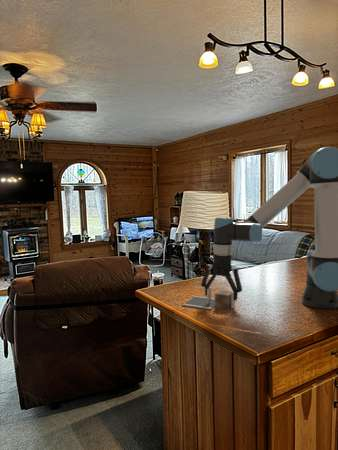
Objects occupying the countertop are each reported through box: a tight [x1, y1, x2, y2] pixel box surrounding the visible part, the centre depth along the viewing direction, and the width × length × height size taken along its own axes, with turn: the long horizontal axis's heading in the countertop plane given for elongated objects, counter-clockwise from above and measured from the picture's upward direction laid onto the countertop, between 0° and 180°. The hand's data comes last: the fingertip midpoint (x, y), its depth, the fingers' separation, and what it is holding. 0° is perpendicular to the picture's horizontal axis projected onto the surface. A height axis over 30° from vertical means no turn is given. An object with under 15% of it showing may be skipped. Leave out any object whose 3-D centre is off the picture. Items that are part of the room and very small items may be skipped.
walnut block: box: [214, 290, 233, 311], centre depth 143 cm, size 6×6×6 cm
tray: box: [182, 295, 215, 311], centre depth 148 cm, size 13×13×1 cm
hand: (220, 305), depth 144 cm, fingers open, 10 cm apart
